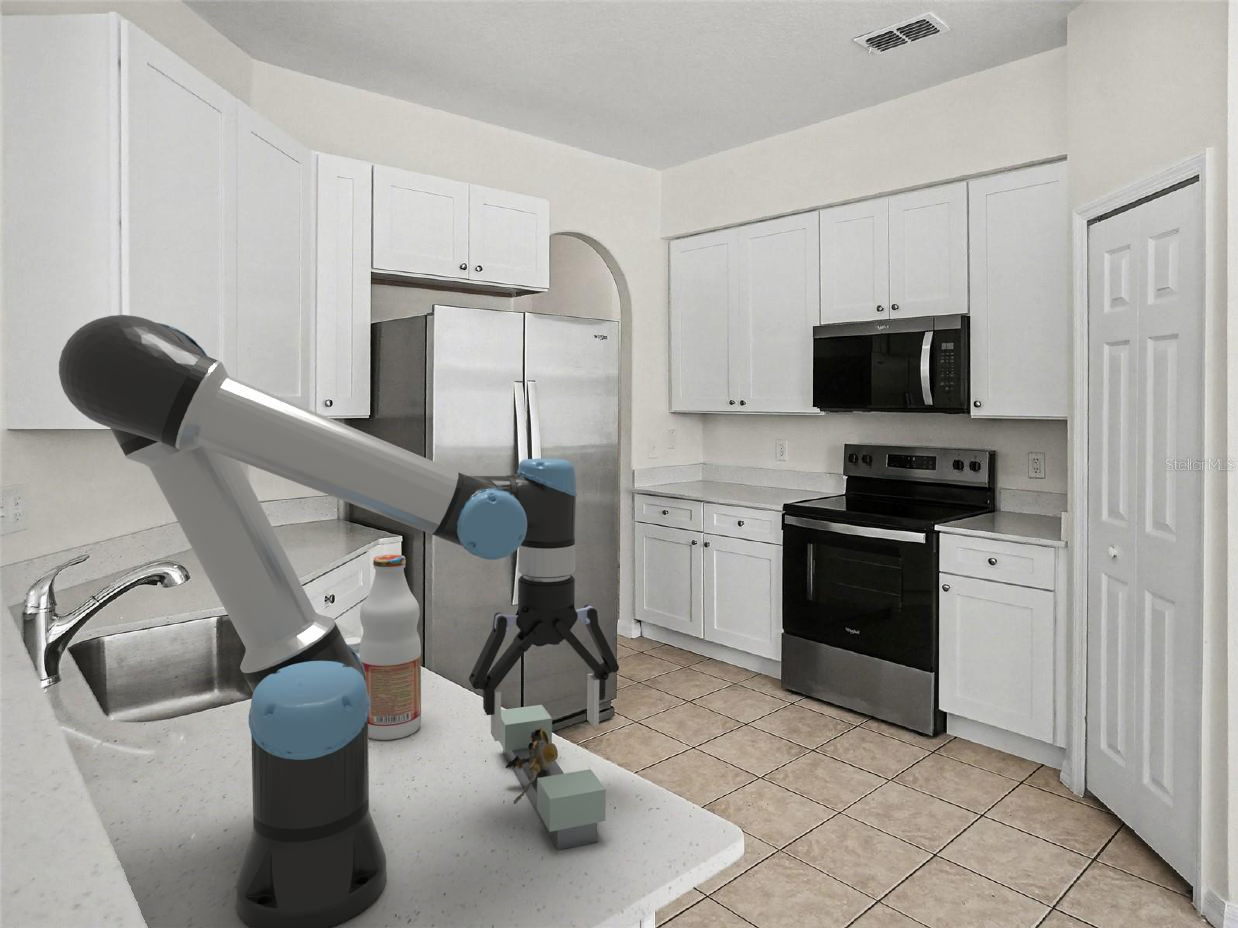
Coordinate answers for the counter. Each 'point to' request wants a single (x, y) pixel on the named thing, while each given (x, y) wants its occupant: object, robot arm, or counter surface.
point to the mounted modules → (557, 795)
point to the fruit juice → (391, 652)
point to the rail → (559, 837)
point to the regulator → (536, 756)
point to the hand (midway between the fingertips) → (545, 729)
